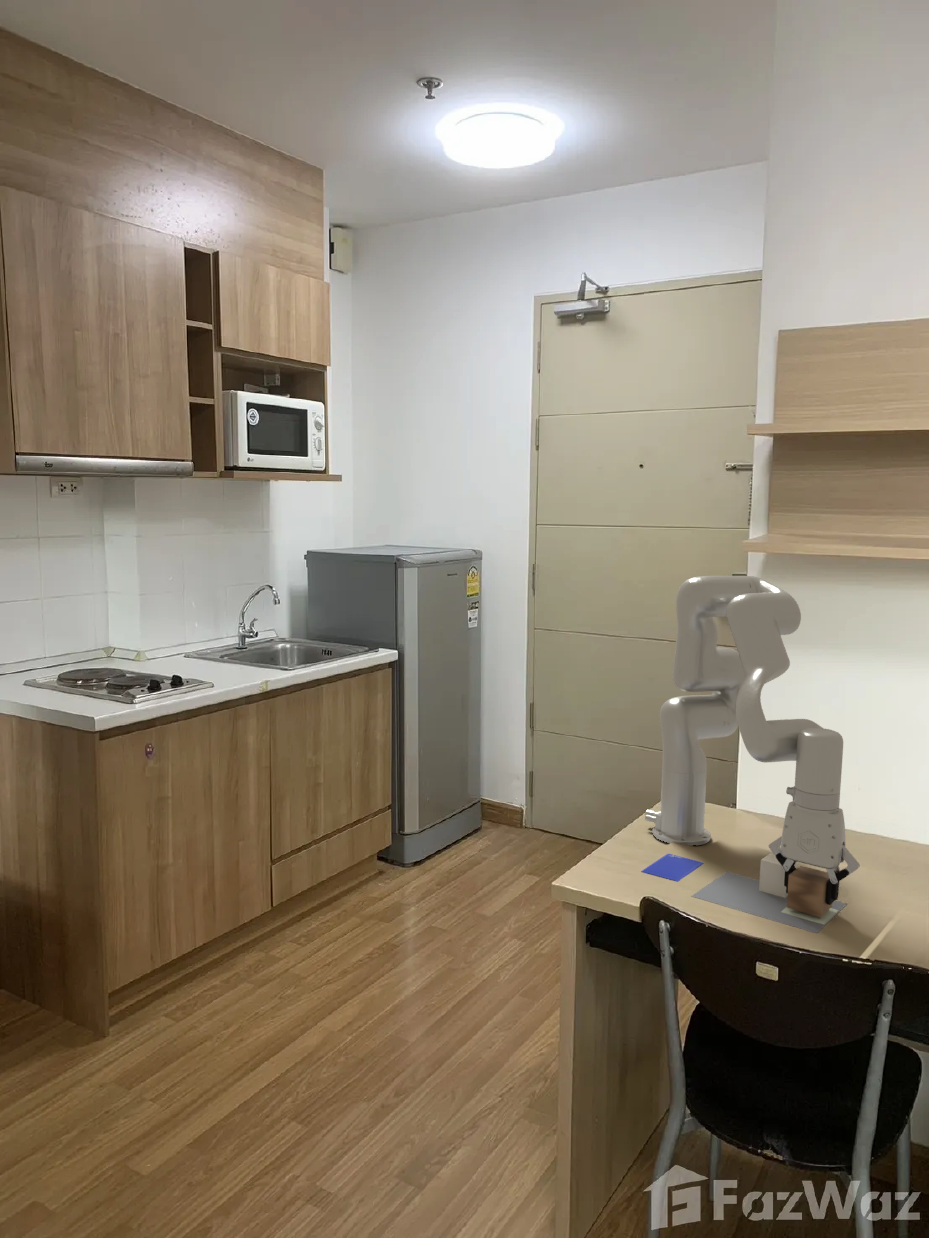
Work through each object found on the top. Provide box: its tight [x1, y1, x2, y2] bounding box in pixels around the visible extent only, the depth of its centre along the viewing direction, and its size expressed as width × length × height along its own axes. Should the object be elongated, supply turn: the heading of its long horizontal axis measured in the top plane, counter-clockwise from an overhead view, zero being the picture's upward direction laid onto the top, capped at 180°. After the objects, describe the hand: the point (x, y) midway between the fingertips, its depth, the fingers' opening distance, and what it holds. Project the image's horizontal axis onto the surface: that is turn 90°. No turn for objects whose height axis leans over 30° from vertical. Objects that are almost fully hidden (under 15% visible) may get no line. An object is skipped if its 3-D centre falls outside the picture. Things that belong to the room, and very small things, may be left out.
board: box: [691, 871, 848, 934], centre depth 170 cm, size 23×16×1 cm
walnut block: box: [787, 865, 832, 917], centre depth 164 cm, size 6×6×6 cm
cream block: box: [759, 852, 798, 898], centre depth 174 cm, size 5×5×6 cm
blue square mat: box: [640, 853, 705, 883], centre depth 185 cm, size 2×8×12 cm
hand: (810, 895), depth 165 cm, fingers open, 6 cm apart
